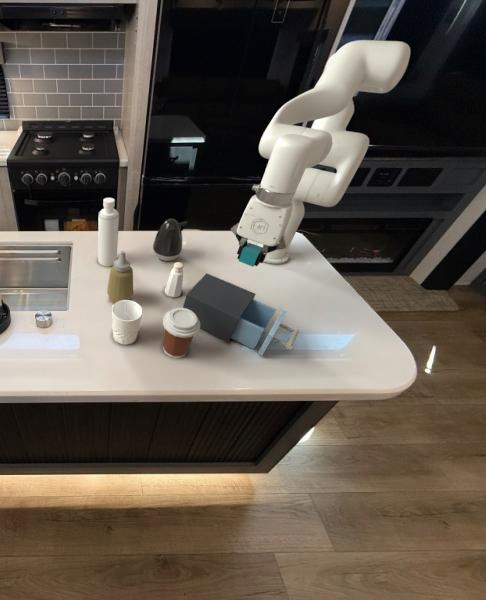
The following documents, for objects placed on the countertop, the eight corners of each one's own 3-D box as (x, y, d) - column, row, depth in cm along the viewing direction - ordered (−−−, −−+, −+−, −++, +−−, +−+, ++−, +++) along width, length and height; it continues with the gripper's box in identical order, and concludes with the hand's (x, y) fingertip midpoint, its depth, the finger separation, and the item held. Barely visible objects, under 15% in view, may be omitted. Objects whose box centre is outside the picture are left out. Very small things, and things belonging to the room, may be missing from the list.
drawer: (293, 339, 86) (306, 319, 80) (280, 366, 79) (293, 346, 74) (229, 309, 94) (236, 290, 89) (212, 331, 88) (220, 311, 83)
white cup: (123, 321, 92) (125, 295, 85) (144, 335, 88) (148, 310, 81) (105, 335, 88) (105, 310, 81) (126, 351, 84) (128, 325, 77)
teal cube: (244, 254, 87) (248, 242, 84) (258, 260, 85) (263, 247, 82) (238, 261, 85) (243, 248, 82) (253, 266, 83) (258, 254, 80)
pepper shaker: (174, 300, 99) (180, 272, 91) (160, 291, 102) (165, 264, 94) (184, 292, 101) (191, 265, 94) (171, 284, 104) (177, 257, 97)
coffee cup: (181, 332, 89) (189, 301, 81) (198, 356, 82) (209, 325, 74) (152, 340, 87) (157, 308, 79) (167, 365, 80) (175, 334, 72)
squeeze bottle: (130, 310, 95) (135, 262, 83) (104, 306, 97) (105, 258, 84) (133, 293, 101) (138, 245, 89) (109, 290, 102) (110, 242, 90)
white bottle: (105, 253, 118) (106, 188, 101) (120, 259, 115) (124, 194, 98) (94, 262, 114) (94, 196, 97) (110, 268, 111) (112, 201, 94)
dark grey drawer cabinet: (244, 318, 93) (255, 293, 86) (227, 343, 86) (238, 319, 79) (199, 297, 100) (206, 273, 93) (180, 318, 93) (186, 294, 86)
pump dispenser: (182, 265, 113) (191, 227, 102) (153, 264, 113) (159, 227, 102) (177, 249, 120) (185, 212, 110) (150, 249, 120) (155, 212, 110)
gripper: (233, 190, 74) (213, 254, 87) (309, 211, 66) (276, 279, 79) (245, 181, 79) (225, 243, 91) (318, 200, 71) (285, 266, 83)
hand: (249, 259), depth 85 cm, fingers closed on teal cube, 4 cm apart
